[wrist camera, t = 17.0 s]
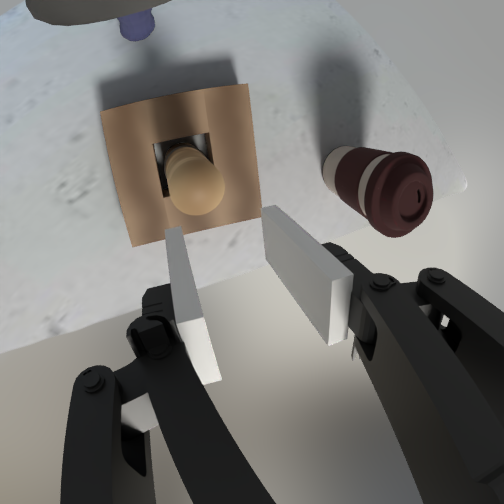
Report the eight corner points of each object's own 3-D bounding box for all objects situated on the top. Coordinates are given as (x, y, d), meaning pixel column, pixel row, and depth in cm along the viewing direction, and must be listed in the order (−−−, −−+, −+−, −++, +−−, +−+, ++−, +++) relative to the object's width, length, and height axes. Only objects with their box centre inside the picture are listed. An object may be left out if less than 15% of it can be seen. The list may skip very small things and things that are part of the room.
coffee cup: (304, 194, 42) (368, 237, 29) (324, 127, 39) (399, 144, 26) (357, 207, 46) (424, 248, 33) (376, 147, 42) (451, 172, 29)
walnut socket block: (134, 234, 38) (132, 247, 34) (106, 111, 30) (100, 111, 26) (253, 206, 41) (262, 216, 37) (238, 85, 33) (247, 83, 30)
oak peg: (167, 182, 36) (174, 223, 24) (159, 146, 34) (162, 166, 22) (204, 174, 37) (230, 210, 25) (198, 137, 35) (222, 154, 23)
